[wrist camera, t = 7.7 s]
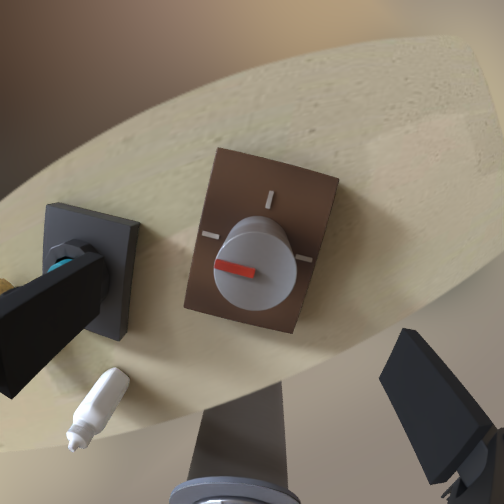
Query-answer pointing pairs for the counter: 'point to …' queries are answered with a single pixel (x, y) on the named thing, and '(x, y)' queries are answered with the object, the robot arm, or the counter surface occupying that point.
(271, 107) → the counter surface
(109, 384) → the eye dropper bottle
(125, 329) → the push button box
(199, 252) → the dial panel
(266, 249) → the dial
